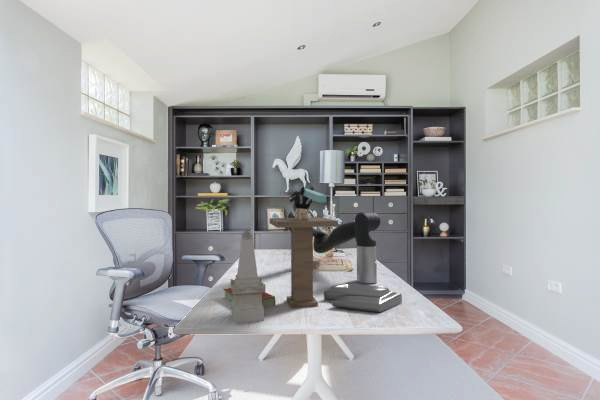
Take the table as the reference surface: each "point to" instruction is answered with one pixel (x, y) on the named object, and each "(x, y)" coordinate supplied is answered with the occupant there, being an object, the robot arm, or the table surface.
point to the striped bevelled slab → (362, 297)
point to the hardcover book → (266, 298)
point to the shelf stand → (302, 255)
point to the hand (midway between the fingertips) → (307, 188)
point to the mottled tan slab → (332, 264)
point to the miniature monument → (247, 285)
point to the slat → (315, 195)
